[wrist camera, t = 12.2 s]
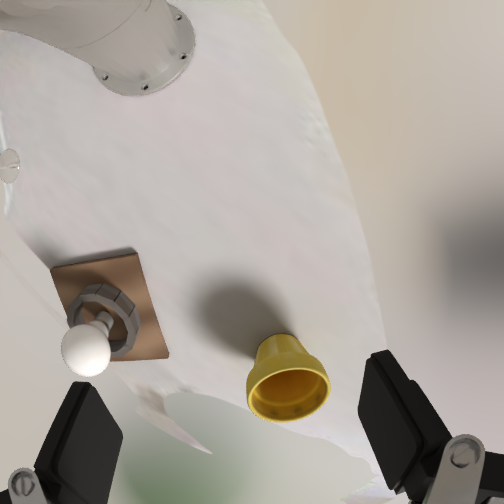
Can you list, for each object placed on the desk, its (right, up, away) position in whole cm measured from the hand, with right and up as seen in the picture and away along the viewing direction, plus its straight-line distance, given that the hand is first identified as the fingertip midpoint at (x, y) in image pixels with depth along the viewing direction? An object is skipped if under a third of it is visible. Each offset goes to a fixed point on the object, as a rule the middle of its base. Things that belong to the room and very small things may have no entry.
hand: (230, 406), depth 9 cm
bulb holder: (-19, -3, +30) cm, 36 cm away
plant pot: (+5, -9, +34) cm, 35 cm away
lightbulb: (-19, -4, +29) cm, 35 cm away
